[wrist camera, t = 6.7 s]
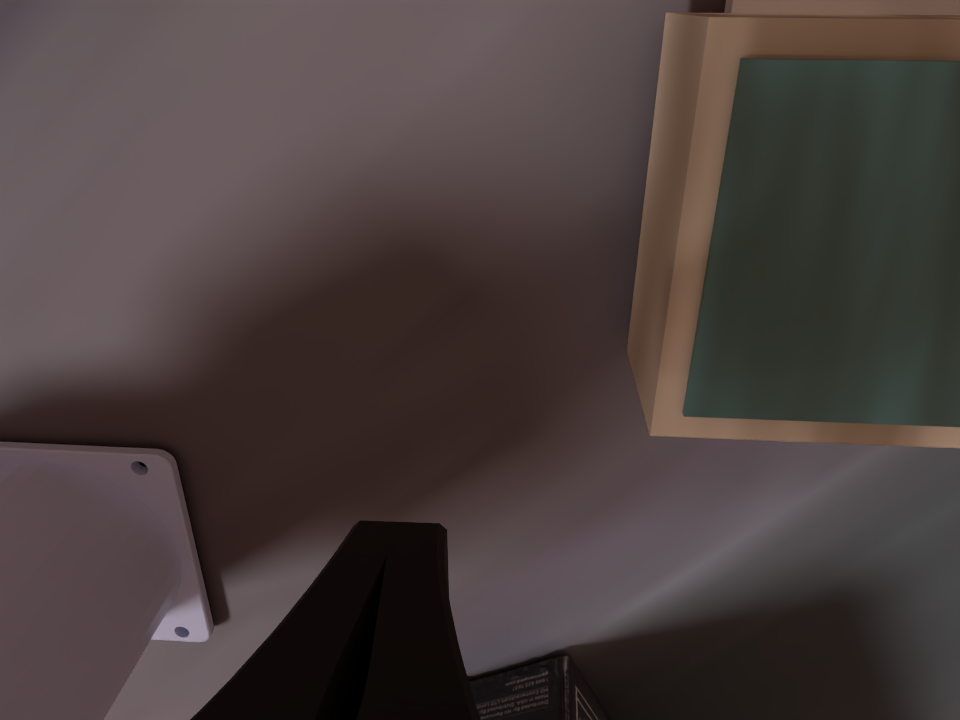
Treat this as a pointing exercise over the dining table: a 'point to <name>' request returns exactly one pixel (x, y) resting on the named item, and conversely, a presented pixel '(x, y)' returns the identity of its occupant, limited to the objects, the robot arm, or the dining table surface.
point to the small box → (536, 693)
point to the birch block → (802, 231)
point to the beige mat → (845, 7)
